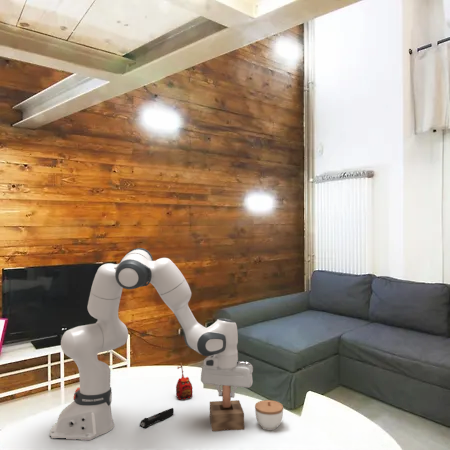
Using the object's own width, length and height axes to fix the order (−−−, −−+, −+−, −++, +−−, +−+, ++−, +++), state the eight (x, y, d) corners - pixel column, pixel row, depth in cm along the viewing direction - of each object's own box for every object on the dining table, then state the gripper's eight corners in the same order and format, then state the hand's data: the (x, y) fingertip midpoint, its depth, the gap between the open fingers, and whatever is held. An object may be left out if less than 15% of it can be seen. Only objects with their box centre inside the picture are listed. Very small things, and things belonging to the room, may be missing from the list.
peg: (222, 407, 150) (222, 381, 151) (222, 404, 153) (222, 378, 154) (230, 407, 150) (230, 381, 151) (230, 404, 153) (230, 378, 154)
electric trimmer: (176, 416, 158) (176, 408, 158) (144, 430, 147) (144, 421, 147) (169, 414, 161) (170, 406, 161) (138, 426, 149) (138, 418, 149)
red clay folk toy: (179, 402, 171) (180, 367, 172) (172, 396, 177) (173, 363, 178) (195, 398, 175) (195, 364, 176) (187, 393, 181) (187, 360, 182)
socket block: (212, 431, 145) (212, 414, 145) (209, 416, 157) (209, 401, 157) (243, 429, 147) (244, 413, 147) (239, 415, 158) (239, 400, 159)
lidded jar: (251, 421, 153) (251, 397, 153) (276, 418, 156) (276, 394, 156) (260, 434, 143) (260, 408, 143) (287, 431, 146) (287, 405, 146)
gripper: (254, 360, 153) (254, 395, 152) (204, 356, 158) (204, 391, 157) (251, 364, 147) (251, 402, 146) (199, 360, 152) (199, 397, 151)
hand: (226, 396), depth 152 cm, fingers closed on peg, 3 cm apart
